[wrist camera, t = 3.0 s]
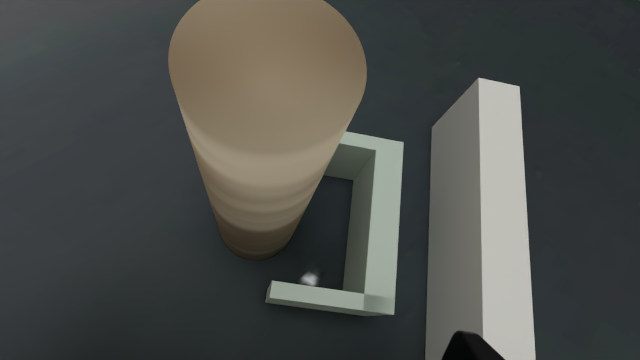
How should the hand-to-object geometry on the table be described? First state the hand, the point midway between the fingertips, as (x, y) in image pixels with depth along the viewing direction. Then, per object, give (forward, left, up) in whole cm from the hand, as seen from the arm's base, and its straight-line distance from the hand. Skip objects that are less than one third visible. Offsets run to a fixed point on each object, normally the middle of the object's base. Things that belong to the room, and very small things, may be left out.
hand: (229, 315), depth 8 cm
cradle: (+2, -5, -11) cm, 12 cm away
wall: (-1, -11, -11) cm, 15 cm away
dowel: (+4, -2, -11) cm, 12 cm away
